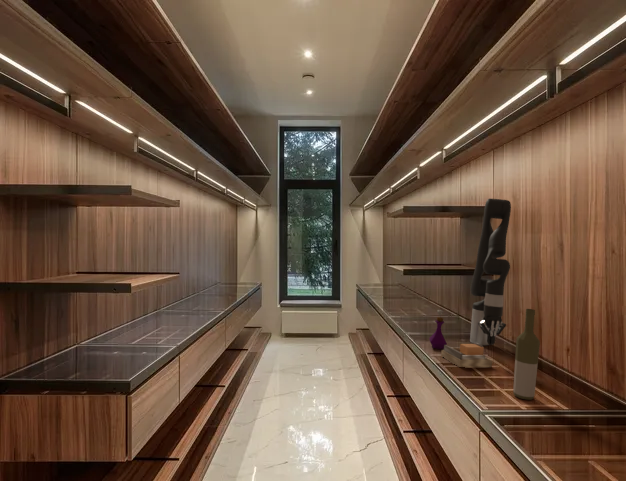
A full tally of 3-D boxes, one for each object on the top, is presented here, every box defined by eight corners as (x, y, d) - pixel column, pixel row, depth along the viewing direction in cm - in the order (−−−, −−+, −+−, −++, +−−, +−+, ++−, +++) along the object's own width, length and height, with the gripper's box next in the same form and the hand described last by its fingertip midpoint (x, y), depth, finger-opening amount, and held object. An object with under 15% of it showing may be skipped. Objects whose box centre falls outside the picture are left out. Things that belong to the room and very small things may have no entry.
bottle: (526, 393, 139) (533, 307, 138) (540, 401, 132) (547, 312, 132) (507, 392, 138) (514, 307, 138) (520, 401, 131) (527, 311, 131)
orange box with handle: (475, 352, 175) (476, 342, 175) (483, 356, 170) (483, 345, 170) (459, 353, 173) (460, 342, 173) (466, 356, 168) (467, 345, 168)
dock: (470, 356, 179) (471, 344, 179) (491, 367, 166) (492, 354, 166) (441, 356, 176) (441, 344, 176) (459, 367, 162) (460, 354, 162)
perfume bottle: (446, 351, 185) (449, 312, 185) (429, 349, 187) (432, 311, 187) (444, 346, 193) (447, 309, 192) (428, 344, 194) (431, 308, 194)
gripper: (486, 305, 168) (483, 346, 168) (512, 306, 171) (509, 346, 171) (474, 302, 175) (472, 341, 175) (500, 303, 178) (497, 342, 178)
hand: (490, 344), depth 173 cm, fingers closed
